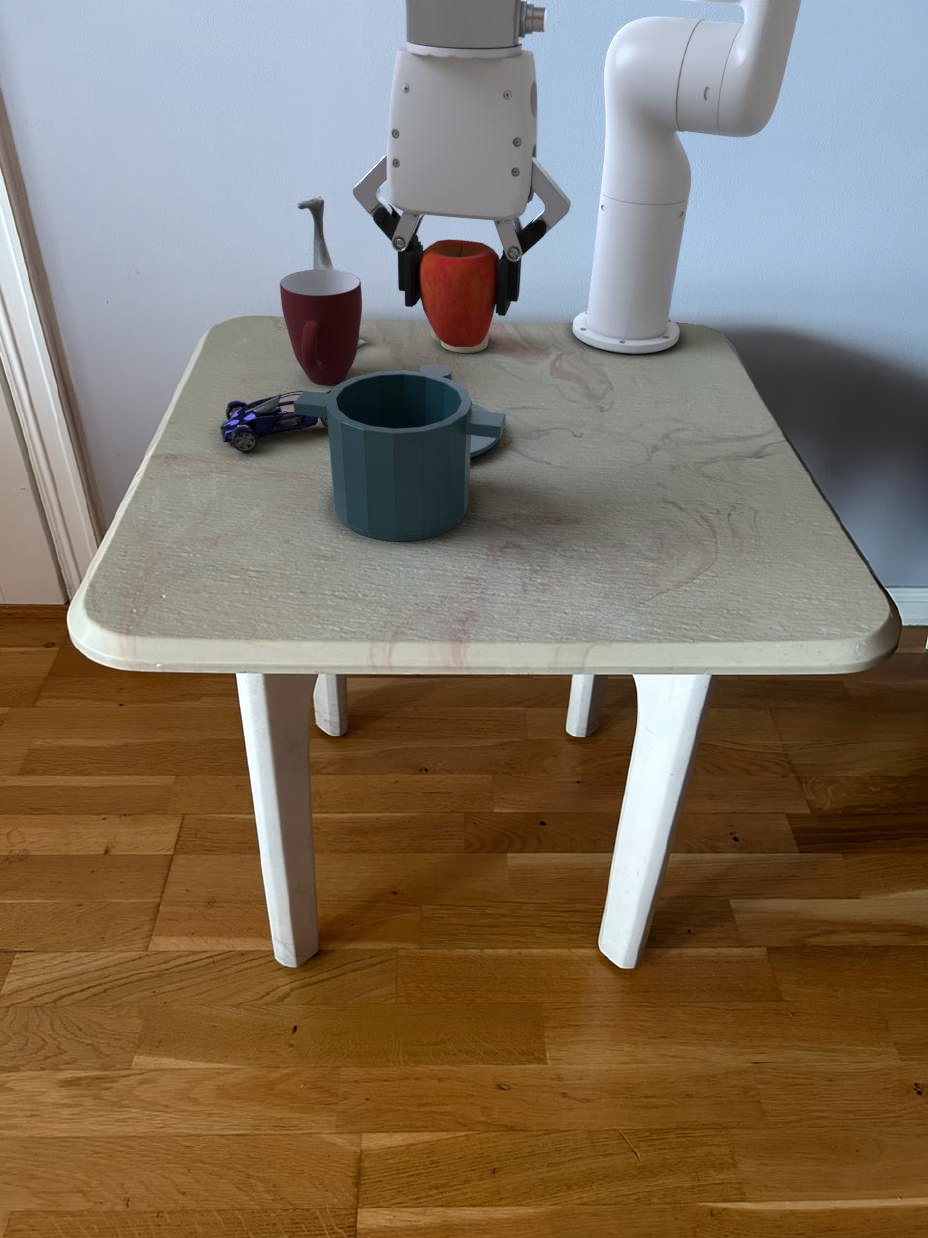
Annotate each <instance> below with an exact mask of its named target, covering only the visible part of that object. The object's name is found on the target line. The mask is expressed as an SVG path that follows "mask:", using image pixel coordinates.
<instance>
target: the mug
mask: <svg viewBox="0 0 928 1238" xmlns="http://www.w3.org/2000/svg"><path fill="white" fill-rule="evenodd" d="M279 291H280V293H279V294H280V302H281V310H282V315H283V318H284V322H285V325H286V330H287V333H288V336H289V340H290V343H291V347H292V351H293V355H294V357H295V359H296V361H297V362H298V364H299V366H300V367H301V369H302V371H303V372H304V374H305V375H306V377H307V378H308V379H309V381H311V382H313V383H315V384H319V385H334V384H338V383H339V384H340V383H342V382H344V381H345V379H346V378H347V377H348V374H349V372H350V371H351V369H352V367H353V364H354V362H355V358H356V357H357V352H358V348H359V347H358V339H360V332H361V331H360V330H361V323H362V314H363V294H362V282H361V279H360V278H359V277H358V276H357V275H355V274H353V273H350V272H347V271H344V270H338V269H335V270H326V269H318V270H313V269H307V270H306V269H305V270H301V271H297V272H293V273H290V274H288V275H286V276H284V277H283V278H282V279H281V280H280V282H279ZM357 347H358V348H357Z"/></svg>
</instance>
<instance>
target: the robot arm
mask: <svg viewBox="0 0 928 1238" xmlns="http://www.w3.org/2000/svg"><path fill="white" fill-rule="evenodd" d="M680 1H683V2H696V3H706V4H721V5H732V6H733V5H734V6H738V7H741V8H742V9H743V13H744V20H743V22H733V21H732V22H730V21H729V22H728V21H720V20H719V21H718V20H706V19H705V18H704V19H703V18H690V17H677V16H676V17H675V16H665V15H664V16H660V15H659V16H647V17H641V18H638V19H634V20H632V21H630V22H628V23H626V24H625V25H624V26H622V27H621V28H620V29H619V30H618V31H617V32H616V34H615V35H614V36H613V38H612V40H611V42H610V43H609V46H608V49H607V52H606V56H605V63H604V72H603V88H604V89H603V90H604V107H605V108H604V109H605V137H604V138H605V140H604V155H603V167H602V178H601V186H600V196H599V203H598V213H597V222H596V230H595V231H596V232H595V239H594V240H595V241H594V248H593V249H594V250H593V257H592V266H591V278H590V286H589V293H588V301H587V310H585V311H582V312H580V313H579V314H578V315H576V316H575V317H574V319H573V321H572V329H571V330H572V333H573V335H574V336H575V337H576V338H577V339H578V340H579V341H581V342H582V343H584V344H586V345H588V346H591V347H593V348H596V349H599V350H604V351H609V352H613V353H620V354H649V353H650V354H651V353H656V352H660V351H665V350H667V349H670V348H671V347H673V346H675V344H677V342H678V341H679V338H680V333H681V332H680V330H681V329H680V327H679V325H678V324H677V322H675V320H673V319H672V318H670V311H671V307H672V299H673V293H674V288H675V281H676V275H677V271H678V263H679V257H680V252H681V247H682V239H683V233H684V230H685V229H684V228H685V221H686V216H687V211H688V205H689V199H690V193H691V187H692V171H691V170H692V169H691V165H690V161H689V157H688V155H687V153H686V150H685V148H684V145H683V143H682V141H681V139H680V137H679V135H678V132H682V133H684V132H689V133H696V134H704V135H713V136H721V137H729V138H750V137H752V136H755V135H757V134H759V133H760V132H762V130H764V129H765V127H766V126H767V125H768V123H769V121H770V120H771V118H772V116H773V114H774V112H775V109H776V106H777V103H778V100H779V96H780V92H781V90H782V89H781V88H782V85H783V81H784V77H785V74H786V68H787V64H788V60H789V56H790V51H791V48H792V43H793V39H794V35H795V34H794V33H795V30H796V25H797V21H798V18H799V12H800V8H801V4H802V0H680ZM547 13H548V9H547V7H544V6H543V7H541V6H536V4H535V3H531V1H530V0H405V44H404V45H403V44H402V45H400V46H399V47H397V49H396V53H395V59H394V65H393V72H392V78H391V88H390V97H389V98H390V99H389V108H388V109H389V110H388V125H387V139H386V141H387V142H386V144H387V145H386V153H385V154H384V156H382V158H380V160H379V161H378V162H377V163H376V164H375V165H374V166H373V167H372V168H371V169H370V170H369V171H368V172H367V173H366V175H364V176H363V178H362V179H360V181H359V182H358V183H357V184H356V185H355V186H353V188H352V194H353V197H354V198H355V199H356V201H357V202H358V203H359V204H360V205H361V206H362V208H363V209H364V210H365V211H366V213H367V214H368V215H370V217H372V220H373V222H374V223H375V225H376V226H377V227H378V228H379V229H380V230H381V232H382V233H383V234H384V235H385V237H387V238H388V240H389V241H390V242H391V246H392V248H393V250H394V251H396V252H397V286H398V288H397V289H398V291H399V292H404V306H405V307H408V308H413V307H415V306H416V305H417V304H418V302H419V301H420V300H421V297H420V290H419V275H418V272H419V259H420V257H421V254H422V252H423V251H424V244H422V241H420V240H419V236H418V232H419V230H420V227H421V225H422V223H423V221H424V218H425V216H433V217H434V216H435V217H445V218H458V219H470V220H471V219H472V220H482V221H493V223H494V226H495V229H496V232H497V235H498V238H499V240H500V243H501V246H502V254H501V256H500V257H499V259H500V260H499V262H498V272H497V293H496V306H495V314H497V316H500V317H505V316H506V315H507V314H508V311H509V309H510V307H511V304H512V302H513V303H514V302H515V303H517V302H518V301H519V297H520V289H521V273H522V259H523V256H524V255H525V254H526V253H527V252H529V250H530V249H531V248H533V247H534V246H535V245H537V243H539V241H541V239H543V238H544V237H545V235H546V234H547V233H548V232H550V230H552V229H553V228H554V227H555V226H556V225H557V224H558V223H560V221H561V220H562V219H563V218H564V217H566V216H567V215H568V213H569V212H570V209H571V207H572V202H571V200H570V198H569V197H568V196H567V194H566V193H565V192H564V191H563V190H562V188H561V186H559V184H557V182H556V181H555V180H554V179H553V177H552V176H551V174H549V173H548V171H547V170H546V169H545V168H544V167H543V165H542V164H541V163H540V161H539V160H538V131H539V130H538V126H539V125H538V123H539V122H538V121H539V120H538V118H539V117H538V115H539V113H538V110H539V109H538V85H537V84H538V83H537V70H536V61H535V60H536V59H535V53H534V52H533V51H531V50H528V49H527V50H526V49H523V43H524V42H525V39H526V38H527V37H528V35H533V34H534V33H545V32H546V27H547ZM385 183H386V188H387V196H388V200H389V202H390V203H388V202H387V201H386V200H385V197H384V196H383V195H382V193H381V188H382V187H383V185H384V184H385ZM535 194H536V196H537V197H538V198H539V199H540V200H541V202H542V203H543V204H544V208H543V210H542V211H541V212H540V213H539V214H538V215H536V216H535V217H534V218H533V219H532V220H531V221H530V222H529V223H528V224H527V225H526V226H524V227H523V224H522V221H521V216H523V215H524V214H525V212H526V210H527V206H528V204H529V203H530V202H532V201H533V199H534V196H535ZM394 207H395V208H396V209H397V210H399V211H402V213H401V214H399V213H398V211H397V210H396V209H395V208H394Z"/></svg>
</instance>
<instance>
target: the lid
mask: <svg viewBox="0 0 928 1238" xmlns="http://www.w3.org/2000/svg"><path fill="white" fill-rule="evenodd" d="M418 372H423V373H431V374H434V375H437V376H441V377H444V378H447V379H450V380H452V381H453V369H452V368H451V367H450V366H448V365H446V364H440V363H428V364H425V365H422V366H421V367H419V370H418ZM472 410H479V411H487V412H490V411H489V410H488V409H486V408H485V407H482V406H480V405H478V404H475V403H472ZM499 440H500V438H491V437H483V436H474V435H471V451H470V459H472V458H473V457H476V456H479V455H481V454H484V453H485V452H487V451H489V450H491V449H492V448H493V447H494V446H495V445H497V443H498V442H499Z"/></svg>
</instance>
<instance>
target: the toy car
mask: <svg viewBox="0 0 928 1238" xmlns="http://www.w3.org/2000/svg"><path fill="white" fill-rule="evenodd" d="M303 391H304V390H295V391H290V392H285V393H282V392H280V393H278V394H277V395H274V396H270V397H266V398H261V399H259V400H255V401H252V402H250V403H247V402H246V401H245V400H242V399H233V400H231V401H229V402H228V403H227V405H226V408H225V416H226V420H223V421H222V423H221V425H220V426H219V429H220V432H221V437H222V442H223V443H232V446H233V447H234V448H235V449H236V450H237V451H238V452H241V453H249V452H252V451H253V450H255V448H256V447H257V446H258V441H259V440H258V439H262V438H265V437H268V436H272V435H277V434H283V433H288V432H295V431H299V430H300V431H301V430H304V429H307V428H311V427H315V426H317V424H318V423H319V421H320V422H321V424H322V425H323V426H324V427H326V428H327V429H328V422H327V418H323V417H315V416H306V415H298V414H295V412H294V411H287V410H283V411H282V407H285V406H290V405H291V406H292V405H294V402H295V401H296V400H295V399H294V400H293V399H292V400H286V401H281V402H280V400H281V399H284V398H288V397H293V396H300V395H301V393H302V392H303ZM331 391H332V389H329V390H328V391H326V392H325V393H328V394H329V393H330V392H331ZM318 392H319V391H318ZM319 393H322V391H321V392H319Z"/></svg>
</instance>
